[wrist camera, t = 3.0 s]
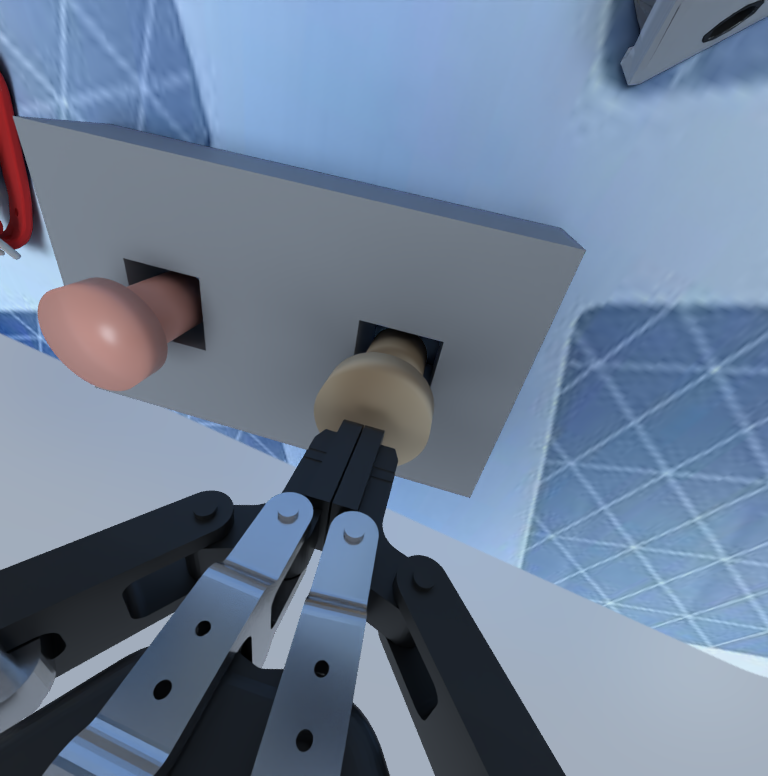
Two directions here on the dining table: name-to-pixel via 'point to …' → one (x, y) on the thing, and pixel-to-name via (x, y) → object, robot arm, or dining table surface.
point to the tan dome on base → (382, 393)
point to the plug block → (304, 281)
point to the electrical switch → (683, 31)
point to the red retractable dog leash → (13, 180)
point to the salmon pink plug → (119, 325)
